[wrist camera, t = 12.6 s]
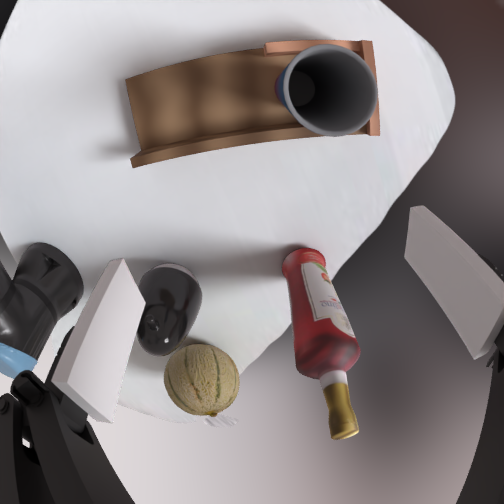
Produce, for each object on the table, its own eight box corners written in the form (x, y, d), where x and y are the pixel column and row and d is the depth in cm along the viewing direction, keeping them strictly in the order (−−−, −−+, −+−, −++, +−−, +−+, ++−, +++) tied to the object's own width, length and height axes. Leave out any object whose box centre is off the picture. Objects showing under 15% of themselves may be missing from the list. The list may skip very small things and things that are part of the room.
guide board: (148, 155, 34) (129, 170, 29) (131, 79, 28) (107, 79, 23) (357, 125, 33) (380, 135, 27) (349, 47, 27) (372, 41, 21)
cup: (264, 62, 27) (278, 42, 14) (322, 62, 27) (375, 48, 14) (268, 116, 31) (286, 138, 18) (325, 115, 30) (377, 137, 18)
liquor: (334, 256, 44) (396, 420, 20) (304, 286, 47) (340, 448, 24) (299, 233, 42) (351, 415, 18) (270, 267, 45) (290, 444, 21)
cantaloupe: (163, 328, 52) (148, 393, 40) (238, 328, 53) (237, 397, 40) (178, 369, 60) (169, 425, 48) (241, 370, 61) (241, 429, 48)
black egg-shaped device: (204, 254, 43) (190, 329, 30) (205, 303, 49) (195, 376, 36) (141, 250, 43) (107, 319, 30) (149, 298, 48) (126, 367, 35)
